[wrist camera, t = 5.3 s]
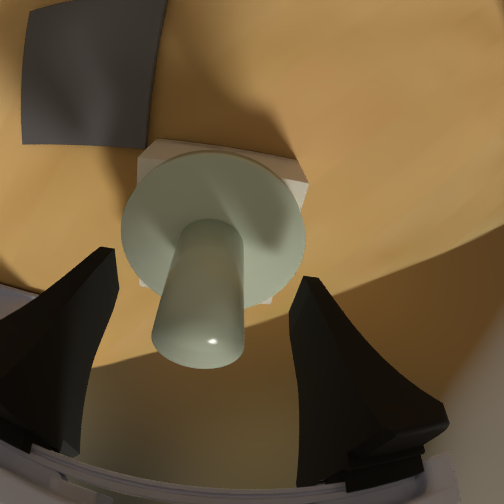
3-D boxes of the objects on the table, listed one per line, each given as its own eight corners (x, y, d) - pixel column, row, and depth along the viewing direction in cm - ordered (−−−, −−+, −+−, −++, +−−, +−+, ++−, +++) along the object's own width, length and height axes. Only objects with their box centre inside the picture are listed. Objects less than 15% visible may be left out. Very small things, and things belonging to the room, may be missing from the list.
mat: (26, 142, 12) (22, 144, 12) (34, 11, 8) (29, 11, 7) (146, 146, 13) (144, 149, 13) (169, -8, 9) (167, -9, 9)
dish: (152, 252, 17) (139, 286, 15) (157, 138, 13) (137, 157, 11) (266, 268, 18) (270, 304, 16) (297, 160, 14) (309, 183, 12)
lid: (136, 292, 15) (106, 385, 10) (121, 145, 10) (41, 218, 6) (283, 306, 16) (295, 403, 11) (320, 163, 11) (374, 248, 7)
